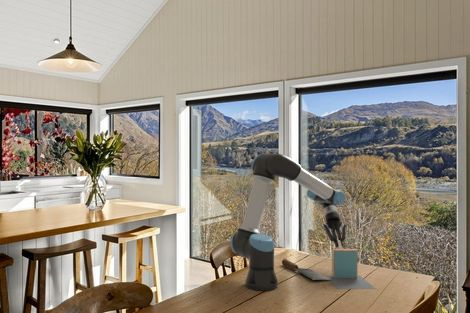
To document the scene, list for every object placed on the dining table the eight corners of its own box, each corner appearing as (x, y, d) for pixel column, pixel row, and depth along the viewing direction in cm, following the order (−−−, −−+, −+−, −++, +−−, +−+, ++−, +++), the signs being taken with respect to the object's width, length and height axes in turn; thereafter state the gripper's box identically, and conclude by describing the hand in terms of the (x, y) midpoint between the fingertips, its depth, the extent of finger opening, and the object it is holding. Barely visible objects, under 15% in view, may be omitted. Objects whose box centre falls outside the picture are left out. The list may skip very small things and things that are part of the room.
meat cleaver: (332, 280, 192) (332, 271, 192) (312, 283, 188) (312, 275, 188) (298, 263, 223) (298, 256, 223) (280, 266, 219) (280, 258, 219)
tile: (333, 278, 194) (334, 250, 194) (331, 276, 197) (332, 248, 197) (357, 278, 194) (357, 250, 194) (355, 276, 198) (355, 248, 198)
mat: (337, 290, 179) (337, 289, 179) (325, 276, 199) (325, 275, 199) (375, 289, 179) (375, 288, 179) (360, 276, 199) (360, 275, 199)
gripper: (341, 219, 222) (351, 256, 206) (319, 219, 222) (327, 256, 205) (344, 211, 217) (355, 248, 200) (321, 211, 216) (330, 248, 200)
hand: (341, 252), depth 203 cm, fingers closed
